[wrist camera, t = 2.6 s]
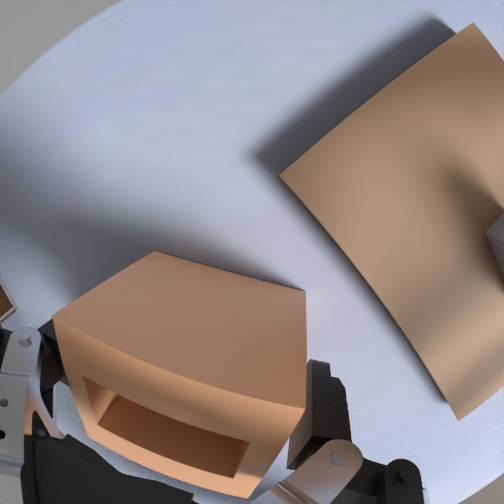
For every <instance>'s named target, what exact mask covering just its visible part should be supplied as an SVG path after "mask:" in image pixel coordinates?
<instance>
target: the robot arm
mask: <svg viewBox="0 0 504 504" xmlns="http://www.w3.org/2000/svg"><path fill="white" fill-rule="evenodd" d="M58 381H61V382H62V383H64V384H65V385H67V386H69V383H68V380H67V377H66V373H65V370H64V366H63V362H62V359H61V355H60V351H59V346H58V342H57V338H56V333H55V328H54V323H53V318H52V319H51V320H50V321H48V322H47V323H45V324H44V325H43V326H41V327H40V328H39V329H37V330H36V329H34V328H32V327H22V328H19V329H17V330H15V331H14V332H12V331H9V330H6V329H3V328H2V326H1V322H0V504H198V503H197V502H195V501H193V495H194V494H193V493H190V492H187V491H184V490H181V489H178V488H175V487H172V486H169V485H167V484H164V483H162V482H159V481H154V480H149V479H144V478H139V477H135V476H130V475H126V474H123V473H121V472H119V471H118V470H116V469H115V468H114V467H113V466H112V465H110V464H109V463H108V462H107V461H106V460H105V459H103V458H102V457H101V456H100V455H99V454H98V453H97V452H96V451H95V450H93V449H91V448H90V447H88V446H86V445H85V444H83V443H82V442H80V441H78V440H77V439H75V438H74V437H72V436H71V435H69V434H67V435H66V436H65V438H64V439H61V438H60V434H59V431H58V427H57V406H56V401H57V387H56V383H57V382H58ZM346 399H347V398H346V391H345V387H344V386H343V384H342V382H341V381H340V379H339V378H336V377H331V373H330V364H329V363H327V362H322V361H317V360H312V359H310V360H309V361H308V363H307V365H306V409H305V411H304V413H303V415H302V416H301V418H300V420H299V422H298V423H297V425H296V427H295V428H294V430H293V432H292V434H291V435H290V439H289V450H288V459H287V468H286V469H290V470H296V471H294V472H293V473H292V474H291V475H290V476H288V477H287V478H286V479H285V480H283V481H282V482H279V483H277V484H276V485H274V486H273V487H271V488H270V489H269V490H267V491H266V492H264V493H263V494H262V495H260V496H259V497H257V498H256V499H255V500H253V501H252V502H250V503H249V504H430V501H429V496H428V492H427V490H425V489H423V488H422V481H421V475H420V471H419V469H418V468H417V466H416V465H415V464H414V463H412V462H411V461H409V460H406V459H396V460H393V461H392V462H390V463H389V464H388V465H383V464H380V463H377V462H373V461H370V460H368V459H365V458H364V457H363V456H362V453H361V451H360V450H359V448H358V447H357V446H356V445H354V444H353V443H352V440H351V430H350V422H349V413H348V409H347V408H348V406H347V401H346Z"/></svg>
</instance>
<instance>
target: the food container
mask: <svg viewBox="0 0 504 504" xmlns="http://www.w3.org/2000/svg"><path fill="white" fill-rule="evenodd" d="M16 309H17V306H16V305H15V303H14V301H13V300H12V298H11V296H10V295H9V293H8V291H7V289H6V287H5V286H4V284H3V282H2V280H1V278H0V322H1V323H2V322H3V321H4V320H5V319H7V318H8V317H9V316H10V315H11V314H13V313H14V312H15V311H16Z"/></svg>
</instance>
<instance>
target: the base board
mask: <svg viewBox="0 0 504 504" xmlns="http://www.w3.org/2000/svg"><path fill="white" fill-rule="evenodd" d="M279 176H280V177H281V178H282V179H283V181H284V182H285V183H286V184H287V185H288V186H289V187H290V188H291V189H292V191H293V192H294V193H295V194H296V195H297V196H298V197H299V199H300V200H301V201H302V202H303V203H304V204H305V205H306V207H307V208H308V209H309V210H310V211H311V212H312V214H313V215H314V216H315V217H316V218H317V219H318V221H319V222H320V223H321V224H322V225H323V227H324V228H325V229H326V230H327V231H328V233H329V234H330V235H331V236H332V237H333V239H334V240H335V241H336V242H337V244H338V245H339V246H340V247H341V249H342V250H343V251H344V252H345V254H346V255H347V256H348V257H349V259H350V260H351V261H352V262H353V264H354V265H355V266H356V268H357V269H358V270H359V271H360V273H361V274H362V275H363V277H364V278H365V279H366V281H367V282H368V283H369V285H370V286H371V287H372V289H373V290H374V291H375V293H376V294H377V295H378V297H379V298H380V300H381V301H382V302H383V304H384V305H385V306H386V308H387V309H388V311H389V312H390V313H391V315H392V316H393V318H394V319H395V321H396V322H397V323H398V325H399V326H400V328H401V329H402V331H403V332H404V334H405V335H406V337H407V338H408V339H409V341H410V342H411V344H412V345H413V347H414V349H415V350H416V352H417V353H418V355H419V356H420V358H421V359H422V361H423V362H424V364H425V366H426V367H427V369H428V370H429V372H430V374H431V375H432V377H433V378H434V380H435V382H436V383H437V385H438V387H439V388H440V390H441V392H442V393H443V395H444V397H445V398H446V400H447V402H448V404H449V405H450V407H451V409H452V411H453V413H454V414H455V416H456V418H457V420H458V421H459V420H461V419H462V418H464V417H465V416H467V415H468V414H469V413H471V412H472V411H473V410H475V409H476V408H477V407H479V406H480V405H481V404H482V403H484V402H485V401H486V400H487V399H489V398H490V397H491V396H492V395H493V394H495V393H496V392H497V391H498V390H499V389H500V388H501V387H503V386H504V61H503V60H502V58H501V57H500V55H499V54H498V53H497V51H496V50H495V49H494V47H493V46H492V45H491V43H490V42H489V41H488V40H487V38H486V37H485V36H484V35H483V33H482V32H481V31H480V30H479V29H478V28H477V26H476V25H475V24H474V23H472V24H470V25H469V26H467V27H466V28H464V29H463V30H461V31H460V32H458V33H457V34H456V35H454V36H453V37H451V38H450V39H448V40H447V41H446V42H444V43H443V44H441V45H440V46H439V47H437V48H436V49H434V50H433V51H432V52H430V53H429V54H428V55H426V56H425V57H423V58H422V59H421V60H419V61H418V62H417V63H415V64H414V65H413V66H411V67H410V68H409V69H407V70H406V71H405V72H404V73H402V74H401V75H400V76H398V77H397V78H396V79H394V80H393V81H392V82H391V83H389V84H388V85H387V86H385V87H384V88H383V89H382V90H380V91H379V92H378V93H377V94H375V95H374V96H373V97H372V98H370V99H369V100H368V101H367V102H365V103H364V104H363V105H362V106H360V107H359V108H358V109H357V110H355V111H354V112H353V113H352V114H350V115H349V116H348V117H347V118H346V119H344V120H343V121H342V122H341V123H340V124H338V125H337V126H336V127H335V128H334V129H332V130H331V131H330V132H329V133H328V134H326V135H325V136H324V137H323V138H322V139H321V140H319V141H318V142H317V143H316V144H315V145H313V146H312V147H311V148H310V149H309V150H308V151H306V152H305V153H304V154H303V155H302V156H301V157H300V158H298V159H297V160H296V161H295V162H294V163H293V164H292V165H290V166H289V167H288V168H287V169H286V170H285V171H284V172H282V173H281V174H280V175H279Z"/></svg>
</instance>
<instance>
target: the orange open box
mask: <svg viewBox="0 0 504 504" xmlns="http://www.w3.org/2000/svg"><path fill="white" fill-rule="evenodd" d="M52 317H53V323H54V328H55V333H56V338H57V342H58V346H59V351H60V355H61V359H62V362H63V366H64V370H65V373H66V377H67V380H68V383H69V386H70V389H71V392H72V395H73V398H74V401H75V404H76V407H77V410H78V412H79V415H80V417H81V420H82V423H83V425H84V427H85V430H86V432H87V435H88V437H89V438H91V439H92V440H94V441H96V442H97V443H99V444H101V445H103V446H105V447H106V448H108V449H110V450H112V451H114V452H116V453H118V454H120V455H122V456H124V457H126V458H128V459H130V460H132V461H134V462H136V463H138V464H141V465H143V466H145V467H147V468H150V469H152V470H154V471H157V472H159V473H162V474H164V475H167V476H170V477H172V478H175V479H178V480H181V481H184V482H187V483H190V484H193V485H196V486H199V487H202V488H206V489H209V490H213V491H217V492H220V493H224V494H228V495H233V496H237V497H242V498H247V499H248V498H249V496H250V495H251V494H252V492H253V491H254V489H255V488H256V487H257V485H258V484H259V483H260V481H261V480H262V478H263V477H264V475H265V474H266V473H267V471H268V470H269V468H270V467H271V465H272V464H273V462H274V461H275V459H276V458H277V456H278V454H279V453H280V451H281V450H282V448H283V447H284V445H285V443H286V442H287V440H288V438H289V437H290V435H291V434H292V432H293V430H294V428H295V427H296V425H297V423H298V422H299V420H300V418H301V416H302V415H303V413H304V411H305V409H306V361H307V341H306V291H302V290H298V289H294V288H290V287H286V286H282V285H278V284H274V283H270V282H266V281H263V280H259V279H255V278H251V277H247V276H244V275H240V274H236V273H232V272H229V271H225V270H221V269H218V268H214V267H210V266H207V265H203V264H199V263H196V262H192V261H189V260H185V259H181V258H178V257H174V256H171V255H167V254H164V253H160V252H157V251H153V252H151V253H150V254H148V255H146V256H145V257H143V258H141V259H140V260H138V261H136V262H135V263H133V264H131V265H130V266H128V267H126V268H125V269H123V270H122V271H120V272H118V273H117V274H115V275H113V276H112V277H110V278H109V279H107V280H105V281H104V282H102V283H101V284H99V285H98V286H96V287H94V288H93V289H91V290H90V291H88V292H87V293H85V294H84V295H82V296H81V297H79V298H77V299H76V300H74V301H73V302H71V303H70V304H68V305H67V306H65V307H64V308H62V309H61V310H59V311H58V312H57V313H55V314H54V315H52Z"/></svg>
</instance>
